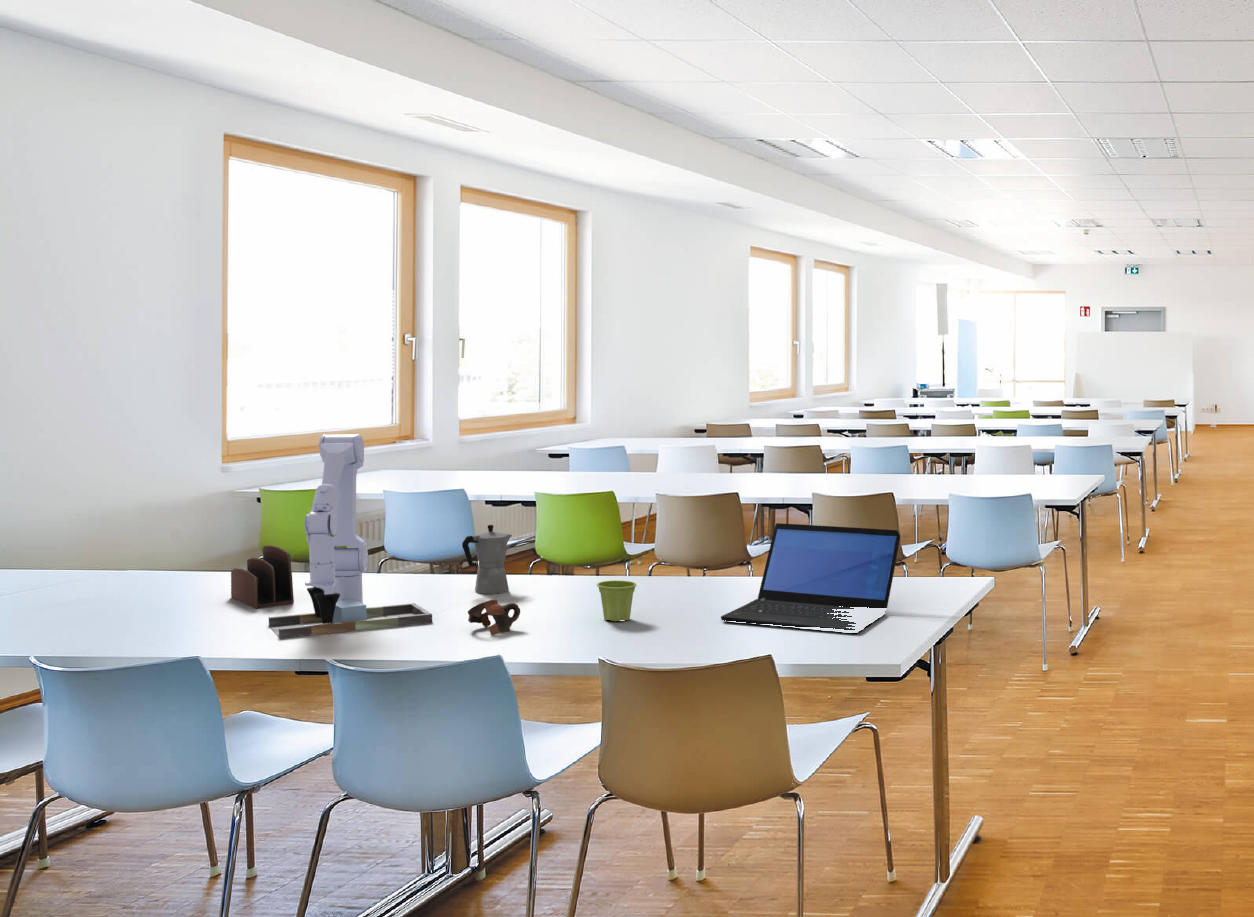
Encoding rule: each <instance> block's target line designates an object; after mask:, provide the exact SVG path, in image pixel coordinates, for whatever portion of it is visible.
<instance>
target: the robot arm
mask: <svg viewBox="0 0 1254 917" xmlns="http://www.w3.org/2000/svg"><path fill="white" fill-rule="evenodd" d="M318 450H319V456H320V458H321V461H322V463H323V472H322V474H323V475H322V479H321V480H322V482H321V485H319V486H317V487H316V489H315V492H314V497H313V502H312V505H311V510H310V512H309V513H306V515H305V518H304V532H305V536H306V543H307V544H308V552H309V554H308V556H309V557H308V558H309V581H305V582H304V585H305V586H306V587H307V588H306V591H307V592H308V594H309V596H310V599H311V602H312V605H313V611H314V613H315V615H316V617H317V618H319V617H321V619H322V621H321V623H322V624H330V623H332V621H333V616H334V611H335V606H336V603H337V601H341V600H350V599H353V600H356V601H358V602H360V603H363V604H364V598H363V597H364V596H363V592H364V591H363V573H365V572H366V571H367V570H368V568H369V558H370V557H369V551H368V544H367V541H365V540H364V539H363V538H361V537H360V536H359V535H358V534H357V473H358V469H361V468H362V467H363V466H364V462H365V443H364V440H363V437H362V435H361V434H359V433H356V434H327V433H326V434H323V435H322V436H321V437H320V438H319V442H318ZM366 608H368V607H367V606H366Z"/></svg>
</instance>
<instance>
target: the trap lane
mask: <svg viewBox="0 0 1254 917" xmlns="http://www.w3.org/2000/svg"><path fill="white" fill-rule="evenodd" d="M366 613H367V618H369V617H370V619H367V620H360V621H350V622H340V623H326V624H323V623H322V619H321V617H319V618H317V617H316V615H315V612H310V613H299V614H290V615H280V616H269V617H268V627H269V628H270V629H271V630H272V631H273V632H274V633H275V634H276V636H277V637H278V638H279V639H287V638H289V639H290V638H297V637H307V636H317V635H325V634H334V633H335V634H336V633H346V632H355V631H363V630H365V631H366V630H373V629H384V628H385V629H386V628H393V627H402V626H411V625H421V624H430V623H433V613H431V612H429V611H428V610H426V609H425V608H423V607H421V606H420V605H419V604H416V603H415V602H413V603H412V602H411V603H403V604H402V603H401V604H392V605H382V606H381V605H380V606H372V607H367V608H366ZM379 616H384V617H381V618H372V619H371V617H379ZM319 622H321V623H322V624H312V625H311V624H310V625H302V624H308V623H319Z"/></svg>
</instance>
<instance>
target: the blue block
mask: <svg viewBox="0 0 1254 917" xmlns="http://www.w3.org/2000/svg"><path fill="white" fill-rule="evenodd" d="M366 607H367V604H365V603H364V602H363V603H360V602H358V601H356V600H353V599H350V600H341V601H337V603H336V606H335V611H334V616H333V621H332V623H340V622H350V621H360V620H368V619H367V618H368V617H367V613H366Z"/></svg>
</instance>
